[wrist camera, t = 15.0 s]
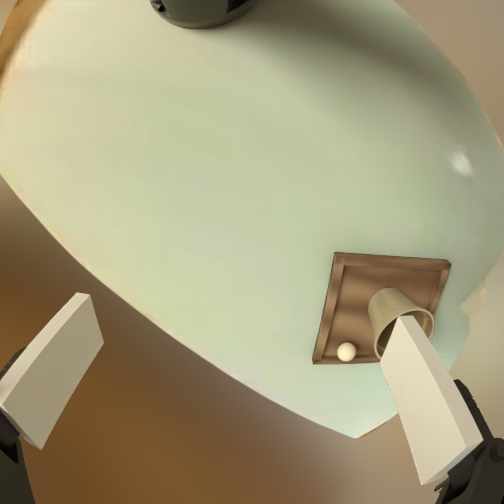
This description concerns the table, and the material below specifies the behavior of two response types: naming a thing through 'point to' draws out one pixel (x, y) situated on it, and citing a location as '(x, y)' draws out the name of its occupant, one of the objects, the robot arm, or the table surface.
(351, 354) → the cream white ball
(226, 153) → the table surface
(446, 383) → the robot arm
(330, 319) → the tray
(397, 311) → the flower pot
